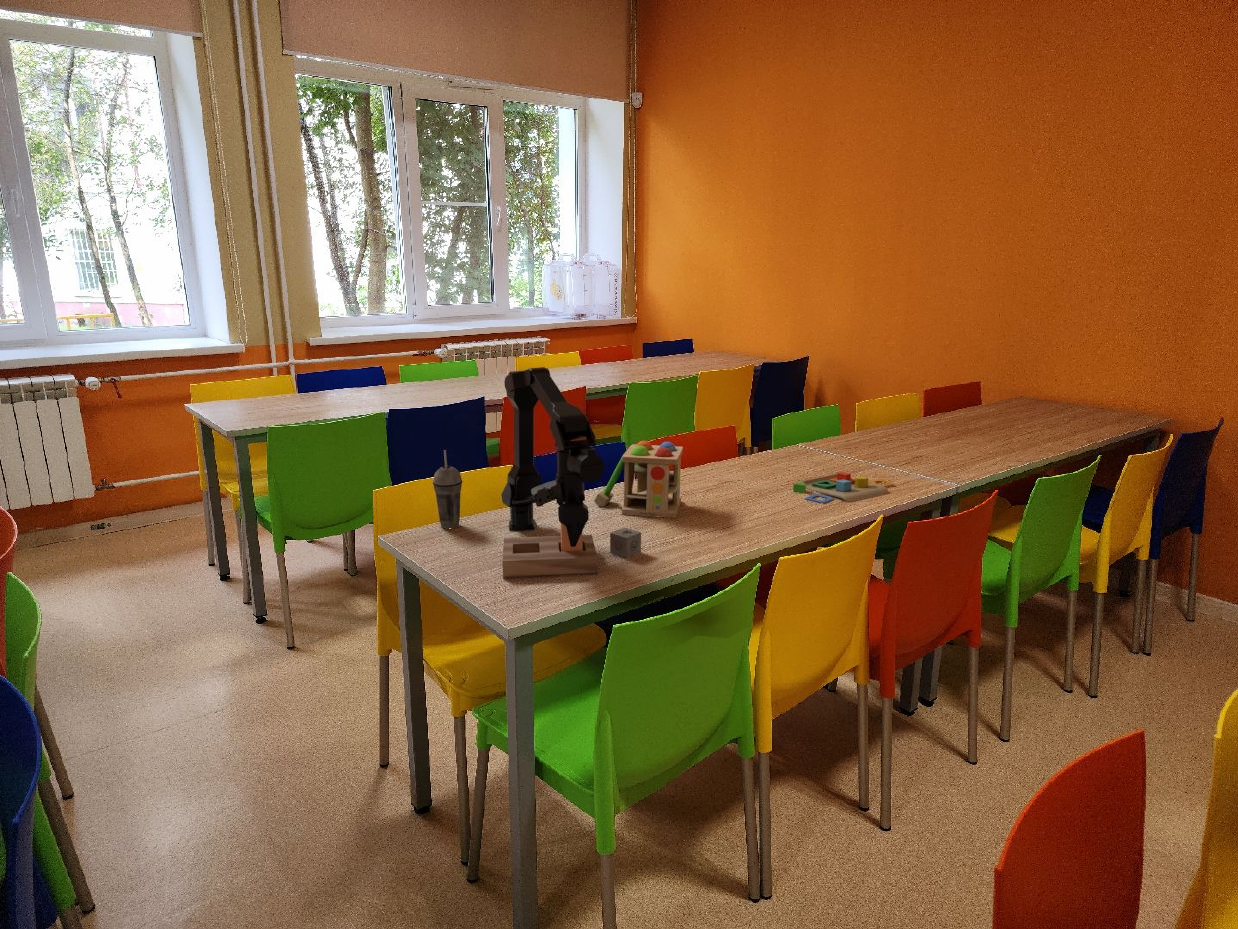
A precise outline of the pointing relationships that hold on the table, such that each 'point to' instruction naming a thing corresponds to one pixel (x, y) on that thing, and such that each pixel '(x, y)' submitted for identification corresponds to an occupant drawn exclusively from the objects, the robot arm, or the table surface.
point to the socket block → (546, 558)
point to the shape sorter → (842, 487)
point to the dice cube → (625, 542)
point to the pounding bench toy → (648, 480)
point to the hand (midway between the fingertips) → (571, 539)
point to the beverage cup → (448, 495)
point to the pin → (565, 541)
